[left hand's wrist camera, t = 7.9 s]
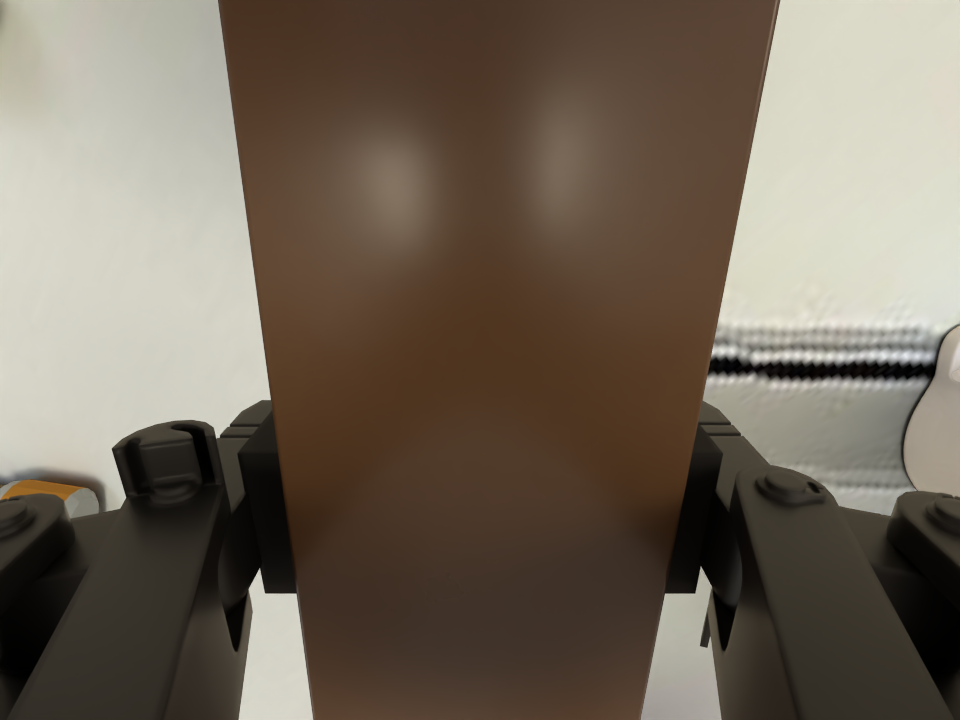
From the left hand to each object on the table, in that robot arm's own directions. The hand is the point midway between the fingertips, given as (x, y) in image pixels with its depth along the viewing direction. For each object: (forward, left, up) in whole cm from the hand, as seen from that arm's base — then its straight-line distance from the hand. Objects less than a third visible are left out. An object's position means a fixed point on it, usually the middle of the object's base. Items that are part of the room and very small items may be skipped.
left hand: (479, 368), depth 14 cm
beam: (+20, 0, -1) cm, 20 cm away
